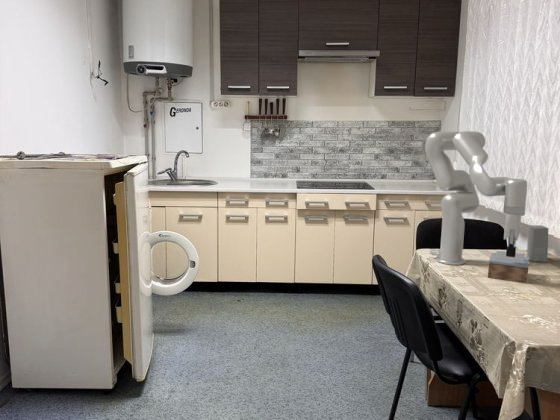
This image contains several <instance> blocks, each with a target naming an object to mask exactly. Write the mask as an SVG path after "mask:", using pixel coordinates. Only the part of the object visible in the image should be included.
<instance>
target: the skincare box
mask: <svg viewBox="0 0 560 420" xmlns="http://www.w3.org/2000/svg"><path fill="white" fill-rule="evenodd" d="M549 230H550V229H549V227H547V226H544V225H537V224H536V225H527V245H526V247H527V248H526V257H529V260H531V261H532V262H542V263H543V262H544V263H546V262H548V251H549V249H548V246H549Z"/></svg>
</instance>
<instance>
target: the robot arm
mask: <svg viewBox="0 0 560 420" xmlns="http://www.w3.org/2000/svg"><path fill="white" fill-rule="evenodd" d="M424 145H425V149H424V150H425V154H426V157H427V158H428V159H427V160H428V161H429V164H430V165H431V168H432V172H433V174H434V178H435V181H436V183H437V186H438V188H439V190H441V191H442V192H450V193H447V194H445V195H444V196H443V197H442V199H441V203H440V207H441V214H442V215H441V218H442V221H441V233H440V234H441V236H440V249H439V250H434V249H430V252H429V254H431V256H436V258H435V260H436V262H438V263H440V264H444V265H448V266H449V265H450V266H459V265H460V266H461V265H464V264H466V259H465V258H463V250H464V236H465V225H466V224H465V219H464V217H463V214H467V213H474V212H475V211H476V210H478V208H479V205H480V200H479V199H480V198H479V196H478V193H477V191H478V192H479V193H480V194H481V195H483V196H484V197H489V198H490V197H502V196H504V198H503V199H504V201H503V212H502V213H503V214H502V215H505V220H504V230H503V231H504V233H503V240H505V241H506V240H507V245H506V250H505V251H506V256H507V257H515V253H516V252H517V251H516V250H517V246H516V243H517V241H518V240H519V237H520V229H521V224H522V223H521V222H522V216H525V215H526V204H527V195H528V194H527V191H528V181H527V180H526V179H523V178H511V177H508V176H507V177H506V176H494V177H491V176H489V174H488V173H487V172H486V171H485V169H484V167H483V165H485V163H487V162H488V159H489V154H488V153H487V151H485V149H484V147H485V145H486V138H485V136H484V134H483V133H482V132H479V131H477V130H476V131H472V130H471V131H470V130H469V131H467V130H466V131H444V130H443V131H442V130H441V131H435V132H432V133H430V134H429V135H428V136H427V138H426V141H425V144H424ZM445 151H457V152H458V153H459V154H460V156H461V157H462V159H463V160H464V161H465V162H466V164H467V165H468V167H469V168H468V172H469V173H468V172H467V171H466V170H463V169H455V168H454V166H453V163H452V161H451V159H450V158H449V156H448V154H446V153H445Z"/></svg>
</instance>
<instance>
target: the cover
mask: <svg viewBox="0 0 560 420" xmlns="http://www.w3.org/2000/svg"><path fill="white" fill-rule="evenodd" d="M489 263H493V264H501V265H508V266H515V267H523V268H528V269H529V267H530V259H529V257H527V256H525V252H517V251H516V253H515V257H507V256H506V250H502V249H496V252H491V254H490V257H489V261H488V264H489Z"/></svg>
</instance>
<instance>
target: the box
mask: <svg viewBox="0 0 560 420" xmlns="http://www.w3.org/2000/svg"><path fill="white" fill-rule="evenodd" d="M528 275H529V268H523V267H515V266H508V265H501V264H493V263H489V262H488V271H487V279H494V280H499V281H506V282H512V283H513V282H515V283H519V284H528Z"/></svg>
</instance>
